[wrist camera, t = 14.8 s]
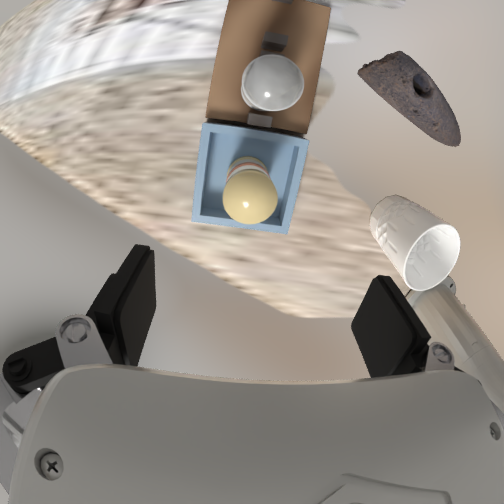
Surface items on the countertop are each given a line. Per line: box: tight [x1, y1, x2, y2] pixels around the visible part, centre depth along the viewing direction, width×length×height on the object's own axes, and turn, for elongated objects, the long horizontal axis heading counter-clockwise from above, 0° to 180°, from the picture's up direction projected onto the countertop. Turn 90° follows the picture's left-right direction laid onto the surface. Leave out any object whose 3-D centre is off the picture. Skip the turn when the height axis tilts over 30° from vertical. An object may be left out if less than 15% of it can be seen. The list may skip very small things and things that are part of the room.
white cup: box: [369, 195, 460, 291], centre depth 27 cm, size 8×8×10 cm
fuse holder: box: [206, 0, 331, 134], centre depth 20 cm, size 10×15×4 cm, turn 170°
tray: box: [192, 122, 309, 234], centre depth 27 cm, size 10×10×3 cm
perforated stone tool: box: [358, 51, 461, 147], centre depth 21 cm, size 15×5×7 cm, turn 59°
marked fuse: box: [223, 156, 278, 224], centre depth 24 cm, size 4×4×8 cm
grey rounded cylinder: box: [241, 55, 304, 111], centre depth 19 cm, size 4×4×8 cm
